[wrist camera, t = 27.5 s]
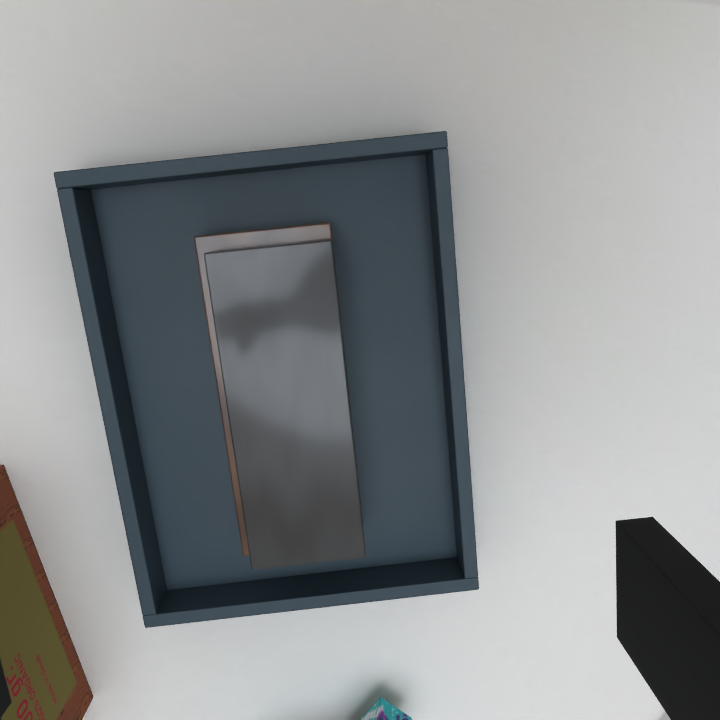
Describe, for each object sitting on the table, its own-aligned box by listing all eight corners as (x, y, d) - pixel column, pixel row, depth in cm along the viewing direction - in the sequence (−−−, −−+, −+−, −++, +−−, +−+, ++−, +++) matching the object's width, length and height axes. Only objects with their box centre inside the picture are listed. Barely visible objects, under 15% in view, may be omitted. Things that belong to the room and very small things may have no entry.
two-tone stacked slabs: (330, 222, 35) (203, 235, 34) (329, 222, 29) (178, 237, 29) (363, 522, 38) (248, 535, 38) (367, 571, 33) (234, 586, 33)
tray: (80, 177, 35) (52, 172, 31) (436, 139, 35) (446, 130, 31) (161, 593, 40) (144, 628, 37) (467, 558, 40) (479, 589, 37)
